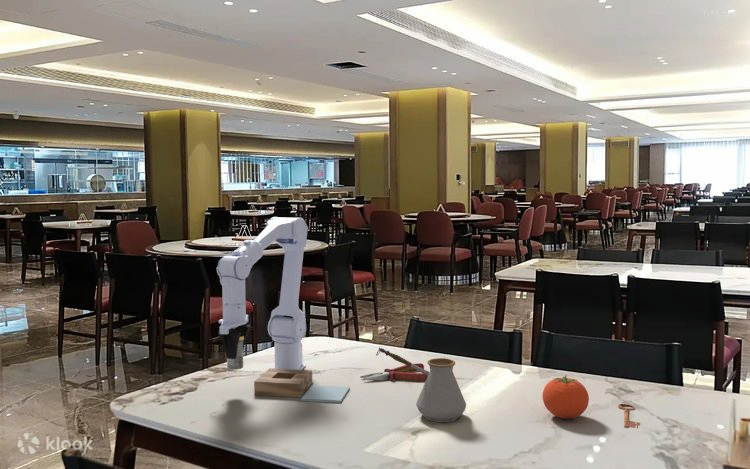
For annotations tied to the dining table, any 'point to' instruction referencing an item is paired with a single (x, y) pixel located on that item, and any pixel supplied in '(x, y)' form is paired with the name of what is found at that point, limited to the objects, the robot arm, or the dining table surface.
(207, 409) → the dining table surface
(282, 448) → the dining table surface
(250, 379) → the dining table surface
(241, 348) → the steel key peg
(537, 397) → the dining table surface
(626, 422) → the key
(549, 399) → the tomato
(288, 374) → the block
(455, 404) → the coffee pot
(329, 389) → the rubber mat
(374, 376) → the pliers
